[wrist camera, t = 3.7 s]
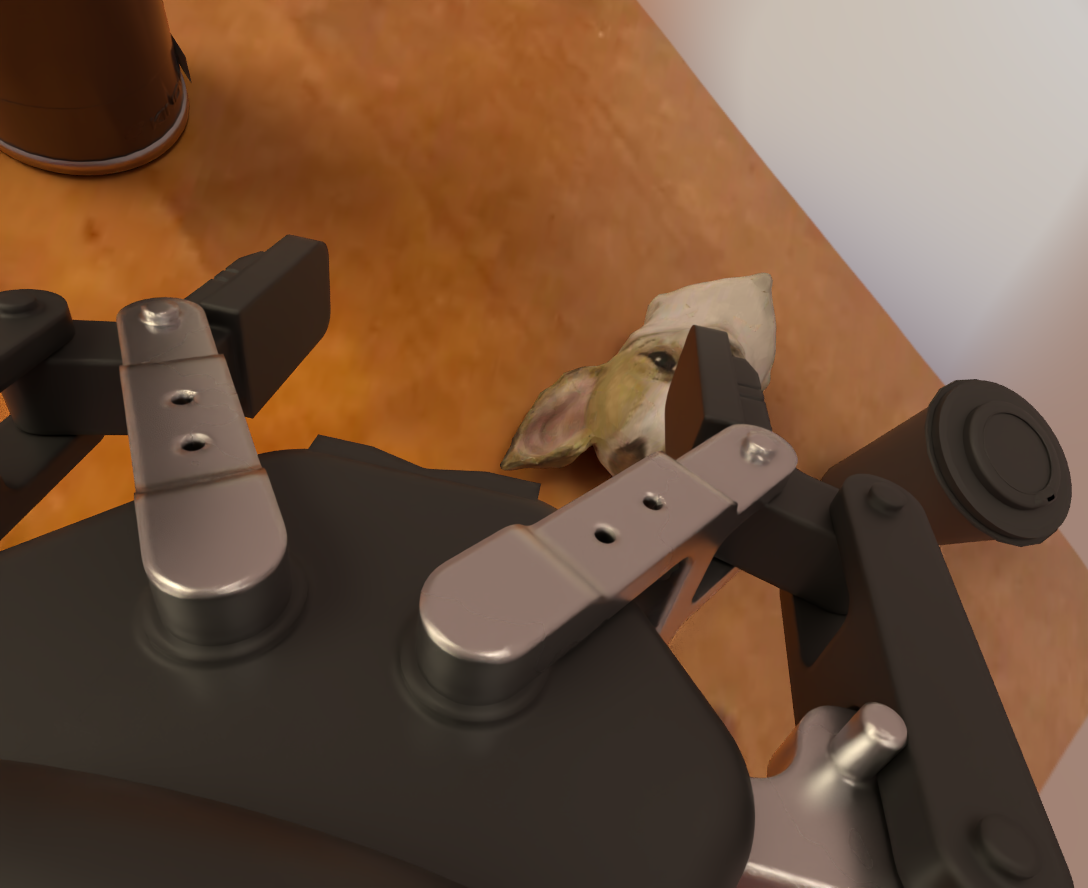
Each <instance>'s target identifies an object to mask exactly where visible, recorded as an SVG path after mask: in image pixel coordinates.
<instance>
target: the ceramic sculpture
mask: <svg viewBox="0 0 1088 888" xmlns="http://www.w3.org/2000/svg"><path fill="white" fill-rule="evenodd" d="M772 282H773V280H772V277H771V275H770V274H768V273H759V274H755V275H751V276H745V277H734V278H725V279H720V280H715V281H711V282H703V283H698V284H694V285H689V286H686V287H683V288H681V289H678V290H676V291H673V292H670V293H665V294H659V295H658V296H656V297H655V298H654V299H653V300H652V301H651V303H650V304H649V305H648V309H647V313H646V316H645V321H644V325H643V326H642V327H641V328H640V329H638V330H637V331H635V332H633V333H632V334H631V335H630V336H629V338H628V339H627V341H626V342H625V344H624V345H623V346H622V348H621V349H620V350H619V352H618V354H617V355H616V356H614V357H613V358H612V359H611V360H610V361H608V362H607V363H605V364H602V365H599V366H588V367H581V368H578V369H575V370H571V371H568V372H565V373H563V375H562V376H561V377H560V378H559V379H558V380H557V381H556V382H555V383H554V384H553V385H552V386H551V387H549V388H547V389H545V390H544V391H542V392H541V393H540V394H539V396H538V398H537V400H536V401H535V403H534V405H533V406H532V408H531V409H530V411H529V412H528V413H527V415H526V417H525V418H524V420H523V422H522V423H521V425H520V426H519V428H518V430H517V432H516V434H515V435H514V437H513V438H512V442H511V446H510V448H509V450H508V451H507V453H506V455H505V457H504V459H503V461H502V462H501V464H500V467H501V469H503V470H516V469H522V468H561V467H564V466H566V465H568V464H571V463H572V462H573V461H574V460H575V459H576V458H577V457H578V456H579V455H580V454H581V453H582V452H584V451H586V449H587V448H588V447H590V446H592V445H593V447H594V450H595V452H596V455H597V457H598V459H599V461H600V463H601V464H602V465H603V466H604V467H605V468H606V469H607V470H608V472H609V473H610V474H611V475H612V476H613V477H614V476H615V475H617V474H619V473H620V472H622V471H624V470H625V469H627V468H629V467H630V466H632V465H634V464H635V463H637V462H639V461H640V460H642V459H644V458H645V457H647V456H649V455H650V454H652V453H654V452H656V451H663V452H665V404H666V398H667V394H668V390H669V387H670V384H671V381H672V378H673V375H674V372H675V369H676V367H677V364H678V361H679V358H680V355H681V352H682V349H683V347H684V344H685V341H686V338H687V335H688V333H689V330H690V328H691V327H692V325H698V326H703V327H707V328H712V329H716V330H721V331H725V332H727V333H728V337H729V342H730V347H731V353H732V356H734V357H739V358H743V359H746V360H747V361H748V362H749V364H750V365H751V366H752V367H753V368H754V369H755V371H756V372H757V373H758V375H759V379H760V383H761V387H762V388H761V390H762V391H764V390H765V389H766V388H767V386H768V384H769V382H770V371H771V368H772V365H773V362H774V358H775V353H776V320H775V313H774V307H773V301H772Z"/></svg>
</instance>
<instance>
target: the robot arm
mask: <svg viewBox="0 0 1088 888" xmlns="http://www.w3.org/2000/svg"><path fill="white" fill-rule="evenodd" d="M179 64H180V66H181V68H182V69H183V71H184V72H185V74H186V75H187V77H188V79H189V80H190V82H191V78H190V74H189V70H188V66H187V61H186V57H185V55H184V54H183V52H182V50H181V49H180V47H179V46H178V44H177V43H176V41H175V39H174V38H173V36H172V35H171V33H170V30H169V25H168V21H167V17H166V13H165V9H164V5H163V1H162V0H0V151H2V152H4V153H5V154H7V155H9V156H11V157H12V158H14V159H16V160H19V161H21V162H23V163H25V164H28V165H31V166H34V167H36V168H40V169H44V170H47V171H52V172H57V173H63V174H71V175H104V174H111V173H117V172H122V171H126V170H130V169H133V168H136V167H139V166H141V165H144V164H146V163H148V162H150V161H152V160H154V159H156V158H157V157H159V156H160V155H162V154H163V153H164V152H166V151H167V150H168V149H169V148H170V147H171V146H172V145H173V144H174V143H175V142H176V141H177V140H178V138H179V137H180V135H181V134H182V132H183V130H184V128H185V126H186V123H187V119H188V114H189V100H188V95H187V90H186V86H185V82H184V79H183V76H182V74H181V71H180V67H179ZM329 320H330V279H329V254H328V249H327V246H326V244H325V243H324V242H321V241H317V240H312V239H308V238H303V237H299V236H294V235H290V234H289V235H286V236H285V237H283V238H282V239H281V240H280V241H278V242H277V243H276V244H274V245H273V246H272V247H271V248H269V249H268V250H267V251H265V252H263V251H260V252H257V253H254V254H251V255H248V256H244V257H241V258H239V259H238V260H236V261H235V262H234V263H232V264H231V265H229V266H228V267H227V268H226V270H225V271H221V272H220V273H219V274H217V275H216V276H215V277H214V279H211V280H209V281H208V282H207V283H205V284H204V285H203V286H201V287H200V288H198V289H197V290H196V291H194V292H193V293H192V294H190V295H189V296H188V297H186V298H185V299H179V298H167V297H163V298H150V299H145V300H141V301H137V302H134V303H132V304H129V305H127V306H125V307H124V308H123V309H121V310H120V311H119V313H118V314H117V318H116V321H117V322H109V321H85V320H72V318H71V314H70V311H69V308H68V305H67V302H66V300H65V299H64V298H63V297H62V296H60V295H58V294H55V293H53V292H49V291H44V290H34V289H19V290H9V291H3V292H0V393H1V392H2V395H3V397H4V400H5V402H6V404H7V407H8V409H9V412H10V414H11V415H9V416H8V417H7V418H6V419H4V420H3V421H2V422H1V423H0V540H1V539H2V538H3V537H4V536H5V535H6V534H7V533H8V532H9V531H10V530H11V529H12V528H13V527H14V526H15V525H16V524H17V523H18V522H19V521H20V520H21V519H22V518H23V517H24V516H26V515H27V514H28V513H29V512H30V511H31V510H32V509H33V508H34V507H35V506H36V505H37V504H38V503H39V502H40V501H41V500H42V499H43V498H44V497H45V496H46V495H47V494H48V493H49V492H50V491H51V490H52V489H53V488H54V487H55V486H56V485H57V484H58V483H59V482H60V481H61V480H62V479H63V478H64V477H65V476H66V475H67V474H68V473H69V472H70V471H71V470H72V469H73V468H74V467H75V466H76V465H77V464H78V463H79V462H80V461H81V460H82V459H83V458H84V457H85V456H86V455H87V454H88V453H89V452H90V451H91V450H92V449H93V448H94V447H95V446H96V445H97V444H98V443H99V442H100V441H101V440H102V439H103V437H104V435H128V437H129V444H130V451H131V458H132V466H133V473H134V480H135V488H136V492H135V493H134V501H131V502H129V503H126V504H123V505H121V506H118V507H116V508H113V509H110V510H108V511H105V512H102V513H100V514H97V515H95V516H92V517H89V518H87V519H84V520H81V521H79V522H76V523H74V524H71V525H68V526H66V527H63V528H60V529H58V530H55V531H53V532H50V533H47V534H45V535H42V536H39V537H37V538H34V539H32V540H29V541H26V542H24V543H21V544H18V545H16V546H13V547H11V548H8V549H5V550H3V551H0V888H1074V885H1073V881H1072V877H1071V875H1070V871H1069V869H1068V866H1067V864H1066V861H1065V859H1064V856H1063V854H1062V851H1061V849H1060V846H1059V844H1058V841H1057V839H1056V836H1055V834H1054V831H1053V829H1052V826H1051V824H1050V821H1049V819H1048V816H1047V814H1046V811H1045V809H1044V806H1043V804H1042V801H1041V799H1040V797H1039V794H1038V792H1037V789H1036V787H1035V784H1034V782H1033V779H1032V777H1031V774H1030V772H1029V769H1028V767H1027V764H1026V762H1025V759H1024V757H1023V754H1022V752H1021V749H1020V747H1019V744H1018V742H1017V739H1016V737H1015V734H1014V732H1013V729H1012V727H1011V724H1010V722H1009V719H1008V717H1007V714H1006V712H1005V709H1004V707H1003V704H1002V702H1001V700H1000V697H999V695H998V692H997V690H996V687H995V685H994V682H993V680H992V677H991V675H990V672H989V670H988V667H987V665H986V662H985V660H984V657H983V655H982V652H981V650H980V647H979V645H978V642H977V640H976V637H975V635H974V632H973V630H972V627H971V625H970V622H969V620H968V617H967V615H966V612H965V610H964V608H963V605H962V603H961V600H960V598H959V595H958V593H957V590H956V588H955V585H954V583H953V580H952V578H951V575H950V573H949V570H948V568H947V565H946V563H945V560H944V558H943V555H942V553H941V550H940V548H939V545H938V543H937V540H936V538H935V535H934V533H933V530H932V528H931V525H930V523H929V520H928V518H927V515H926V513H925V511H924V509H923V507H922V506H921V504H920V503H919V501H918V500H917V499H916V498H915V497H914V496H913V495H911V494H910V493H909V492H908V491H906V490H905V489H904V488H902V487H901V486H899V485H897V484H895V483H893V482H891V481H889V480H887V479H884V478H882V477H878V476H875V475H870V474H855V475H851V476H849V477H848V478H846V479H845V481H844V483H843V484H842V486H841V488H840V489H838V488H836V487H833V486H831V485H829V484H826V483H824V482H822V481H819V480H817V479H815V478H813V477H810V476H808V475H806V474H805V473H803V472H801V471H799V470H798V469H796V468H795V467H796V465H797V461H798V459H797V455H796V453H795V451H794V449H793V448H792V446H791V445H790V444H789V443H788V442H787V441H785V440H784V439H783V438H782V437H780V436H779V435H777V434H775V433H773V432H772V428H771V424H770V420H769V416H768V412H767V408H766V404H765V402H764V395H763V391H762V390H761V388H762V387H761V383H760V379H759V375H758V373H757V372H756V371H755V369H754V368H753V367H752V366H751V365H750V364H749V362H748V361H747V360H746V359H743V358H739V357H734V356H732V353H731V347H730V342H729V337H728V333H727V332H725V331H721V330H716V329H712V328H707V327H703V326H698V325H692V327H691V328H690V330H689V333H688V335H687V338H686V341H685V344H684V347H683V349H682V352H681V355H680V358H679V361H678V364H677V367H676V369H675V372H674V375H673V378H672V381H671V384H670V387H669V390H668V394H667V398H666V404H665V452H663V451H656V452H654V453H652V454H650V455H649V456H647V457H645V458H644V459H642V460H640V461H639V462H637V463H635V464H634V465H632V466H630V467H629V468H627V469H625V470H624V471H622V472H620V473H619V474H617V475H615V476H614V477H612V478H610V479H609V480H607V481H605V482H604V483H602V484H600V485H599V486H597V487H595V488H594V489H592V490H590V491H589V492H587V493H585V494H584V495H582V496H580V497H579V498H577V499H575V500H574V501H572V502H570V503H569V504H567V505H565V506H564V507H562V508H560V509H559V510H558V509H556V508H554V507H552V506H550V505H549V504H547V503H545V502H542V501H540V500H538V495H539V490H540V486H541V484H540V483H535V482H530V481H526V480H521V479H517V478H512V477H508V476H503V475H499V474H494V473H490V472H482V471H460V470H438V469H426V468H422V467H420V466H417V465H415V464H412V463H410V462H408V461H405V460H403V459H401V458H398V457H396V456H394V455H391V454H389V453H387V452H384V451H382V450H380V449H377V448H375V447H372V446H368V445H363V444H359V443H354V442H350V441H345V440H341V439H336V438H332V437H327V436H323V435H318V436H317V437H316V438H315V440H314V441H313V443H312V444H311V446H310V447H309V449H288V450H279V451H272V452H267V453H262V454H258V455H257V452H256V449H255V446H254V443H253V440H252V437H251V434H250V432H249V429H248V426H247V423H246V420H245V417H248V418H254V417H255V415H256V414H257V413H258V412H259V411H260V410H261V408H262V407H263V406H264V405H265V404H266V403H267V401H268V400H269V399H270V398H271V397H272V396H273V394H274V393H275V392H276V391H277V390H278V389H279V387H280V386H281V385H282V384H283V383H284V382H285V380H286V379H287V378H288V377H289V376H290V375H291V373H292V372H293V371H294V370H295V369H296V368H297V366H298V365H299V364H300V363H301V362H302V361H303V359H304V358H305V357H306V356H307V355H308V354H309V352H310V351H311V350H312V349H313V348H314V347H315V345H316V344H317V343H318V342H319V341H320V340H321V339H322V337H323V336H324V334H325V333H326V330H327V328H328V324H329ZM740 569H741V570H743V571H745V572H747V573H749V574H751V575H753V576H755V577H758V578H760V579H762V580H764V581H766V582H768V583H770V584H772V585H774V586H776V587H778V588H780V601H781V609H782V617H783V626H784V634H785V642H786V651H787V659H788V667H789V675H790V684H791V692H792V700H793V709H794V717H795V725H796V727H795V728H794V730H793V731H792V732H791V733H790V735H789V736H788V737H787V738H786V740H785V741H784V742H783V743H782V745H781V746H780V747H779V748H778V750H777V751H776V752H775V753H774V754H773V756H772V758H771V760H770V761H769V765H768V769H767V778H752V777H750V776H749V773H748V770H747V767H746V764H745V761H744V758H743V756H742V754H741V752H740V750H739V748H738V746H737V744H736V742H735V740H734V738H733V737H732V735H731V734H730V732H729V731H728V729H727V728H726V726H725V725H724V723H723V722H722V721H721V719H720V718H719V716H718V715H717V714H716V712H715V711H714V709H713V708H712V707H711V705H710V704H709V703H708V701H707V700H706V698H705V697H704V696H703V694H702V693H701V691H700V690H699V689H698V687H697V686H696V684H695V683H694V682H693V680H692V679H691V678H690V676H689V675H688V673H687V672H686V671H685V669H684V668H683V666H682V665H681V664H680V662H679V661H678V660H677V658H676V657H675V655H674V654H673V653H672V651H671V650H670V648H669V647H668V646H667V645H668V644H669V642H670V641H671V639H672V638H673V637H674V635H675V634H676V632H677V631H678V629H679V628H680V627H681V626H682V624H683V623H684V622H685V621H686V620H687V619H688V618H689V617H690V616H691V615H692V614H693V613H694V612H695V611H697V610H698V609H699V608H700V607H701V606H702V605H703V604H704V603H705V602H706V601H707V600H709V599H710V598H711V597H712V596H713V595H714V594H715V593H716V592H717V591H718V590H719V589H720V588H722V587H723V586H724V585H725V584H726V583H727V582H728V581H729V580H730V579H731V578H732V577H734V576H735V575H736V574H737V573H738V572H739V570H740Z"/></svg>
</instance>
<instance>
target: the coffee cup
mask: <svg viewBox="0 0 1088 888" xmlns="http://www.w3.org/2000/svg"><path fill="white" fill-rule="evenodd" d="M855 474H870V475H875V476H878V477H882V478H884V479H887V480H889V481H891V482H893V483H895V484H897V485H899V486H901V487H902V488H904V489H905V490H906V491H908V492H909V493H910V494H911V495H913V496H914V497H915V498H916V499H917V500H918V501H919V503H920V504H921V506H922V507H923V509H924V511H925V513H926V515H927V518H928V520H929V523H930V525H931V528H932V530H933V533H934V535H935V538H936V540H937V543H938V545H945V544H956V543H966V542H976V541H987V540H996V541H998V542H1002V543H1007V544H1011V545H1015V546H1019V547H1023V546H1029V545H1035V544H1040V543H1042V542H1043V541H1044V540H1046V539H1047V538H1048V537H1049V536H1051V535H1052V534H1053V533H1054V532H1056V531H1057V529H1058V528H1059V526H1060V525H1061V524H1062V523H1063V521H1064V520H1065V518H1066V516H1067V514H1068V511H1069V508H1070V503H1071V497H1072V487H1071V486H1072V485H1071V477H1070V472H1069V468H1068V464H1067V461H1066V458H1065V455H1064V452H1063V450H1062V448H1061V446H1060V444H1059V441H1058V440H1057V438H1056V436H1055V434H1054V433H1053V431H1052V429H1051V428H1050V427H1049V425H1048V424H1047V422H1046V421H1045V420H1044V418H1043V417H1042V416H1041V415H1040V414H1039V413H1038V411H1036V409H1035V408H1033V406H1032V405H1031V404H1029V403H1028V402H1027V401H1026V400H1025V399H1024V398H1022V397H1021V396H1019V395H1018V394H1017V393H1015V392H1014V391H1012V390H1010V389H1008V388H1006V387H1004V386H1002V385H999V384H997V383H993V382H989V381H981V380H977V379H973V380H956V381H954V382H951V383H950V384H948V385H946V386H944V387H942V388H940V389H939V391H938V392H937V394H936V395H935V397H934V398H933V399H932V401H931V402H930V404H929V406H928V407H927V408H926V409H924V410H923V411H921V412H919V413H918V414H916V415H915V416H913V417H911V418H910V419H908V420H907V421H905V422H903V423H902V424H900V425H899V426H897V427H895V428H894V429H892V430H891V431H889V432H887V433H886V434H884V435H883V436H881V437H879V438H878V439H876V440H875V441H873V442H871V443H870V444H868V445H867V446H865V447H863V448H862V449H860V450H859V451H857V452H855V453H854V454H852V455H851V456H849V457H847V458H846V459H844V460H843V461H841V462H839V463H838V464H836V465H835V466H833V467H831V468H830V469H829V470H828V471H827V472H826V474H825V475H824V476H823V478H822V482H824V483H826V484H829V485H831V486H833V487H836V488H838V489H840V488H841V486H842V484H843V483H844V481H845V479H846V478H848V477H849V476H851V475H855Z"/></svg>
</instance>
